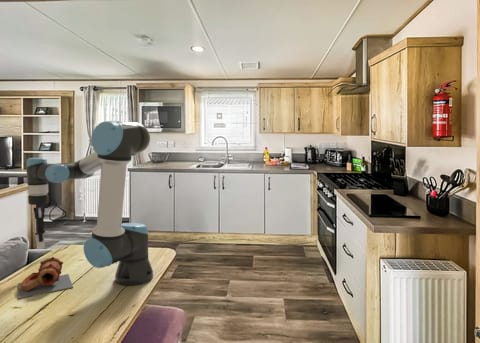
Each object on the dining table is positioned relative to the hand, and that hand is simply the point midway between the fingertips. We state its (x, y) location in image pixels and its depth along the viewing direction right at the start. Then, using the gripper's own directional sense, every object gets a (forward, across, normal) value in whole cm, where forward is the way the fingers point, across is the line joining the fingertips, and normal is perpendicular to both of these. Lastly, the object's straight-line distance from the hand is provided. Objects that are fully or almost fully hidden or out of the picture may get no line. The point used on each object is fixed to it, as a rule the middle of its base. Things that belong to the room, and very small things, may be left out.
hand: (41, 248), depth 152 cm
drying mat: (+11, +17, 0) cm, 20 cm away
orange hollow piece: (+6, +7, +1) cm, 9 cm away
